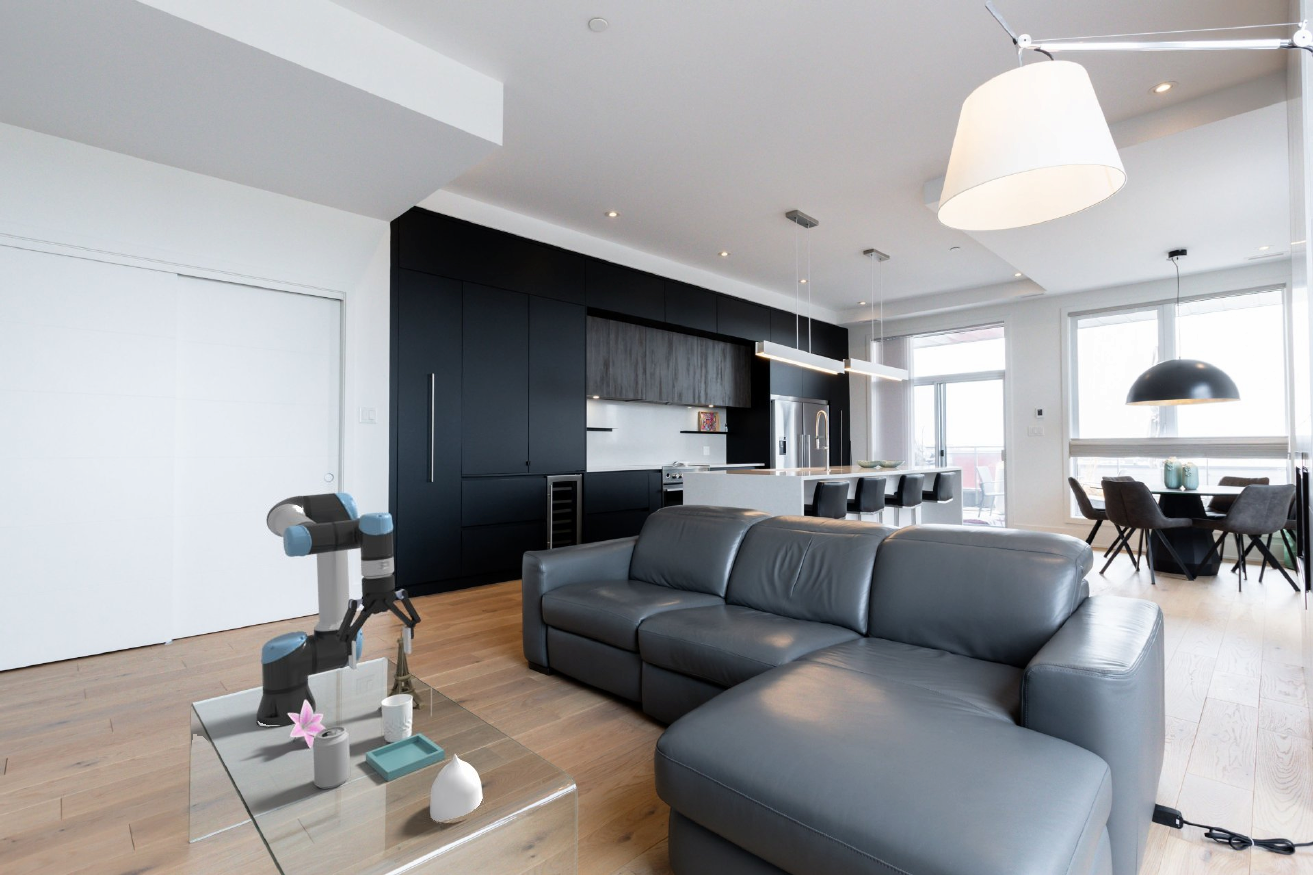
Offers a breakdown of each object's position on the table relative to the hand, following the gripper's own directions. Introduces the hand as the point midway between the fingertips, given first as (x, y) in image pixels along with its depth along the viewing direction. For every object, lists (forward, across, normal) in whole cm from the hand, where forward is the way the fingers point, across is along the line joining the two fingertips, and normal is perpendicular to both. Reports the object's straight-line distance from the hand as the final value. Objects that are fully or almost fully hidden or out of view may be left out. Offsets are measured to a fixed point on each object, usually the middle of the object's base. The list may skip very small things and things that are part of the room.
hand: (381, 660), depth 157 cm
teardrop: (+26, +2, -33) cm, 42 cm away
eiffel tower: (+25, +18, +28) cm, 42 cm away
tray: (+25, +4, -3) cm, 26 cm away
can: (+26, -12, 0) cm, 28 cm away
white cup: (+25, +8, +10) cm, 29 cm away
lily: (+25, -9, +27) cm, 38 cm away
